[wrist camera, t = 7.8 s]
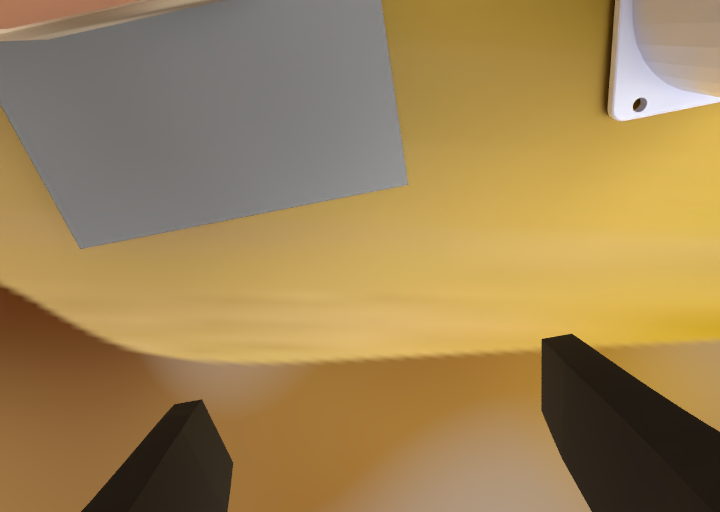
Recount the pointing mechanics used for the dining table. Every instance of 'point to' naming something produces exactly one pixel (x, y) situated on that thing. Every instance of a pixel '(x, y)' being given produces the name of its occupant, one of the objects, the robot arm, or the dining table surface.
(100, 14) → the birch block
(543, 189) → the dining table surface
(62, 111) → the baseplate
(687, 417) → the robot arm
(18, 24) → the terracotta brick
